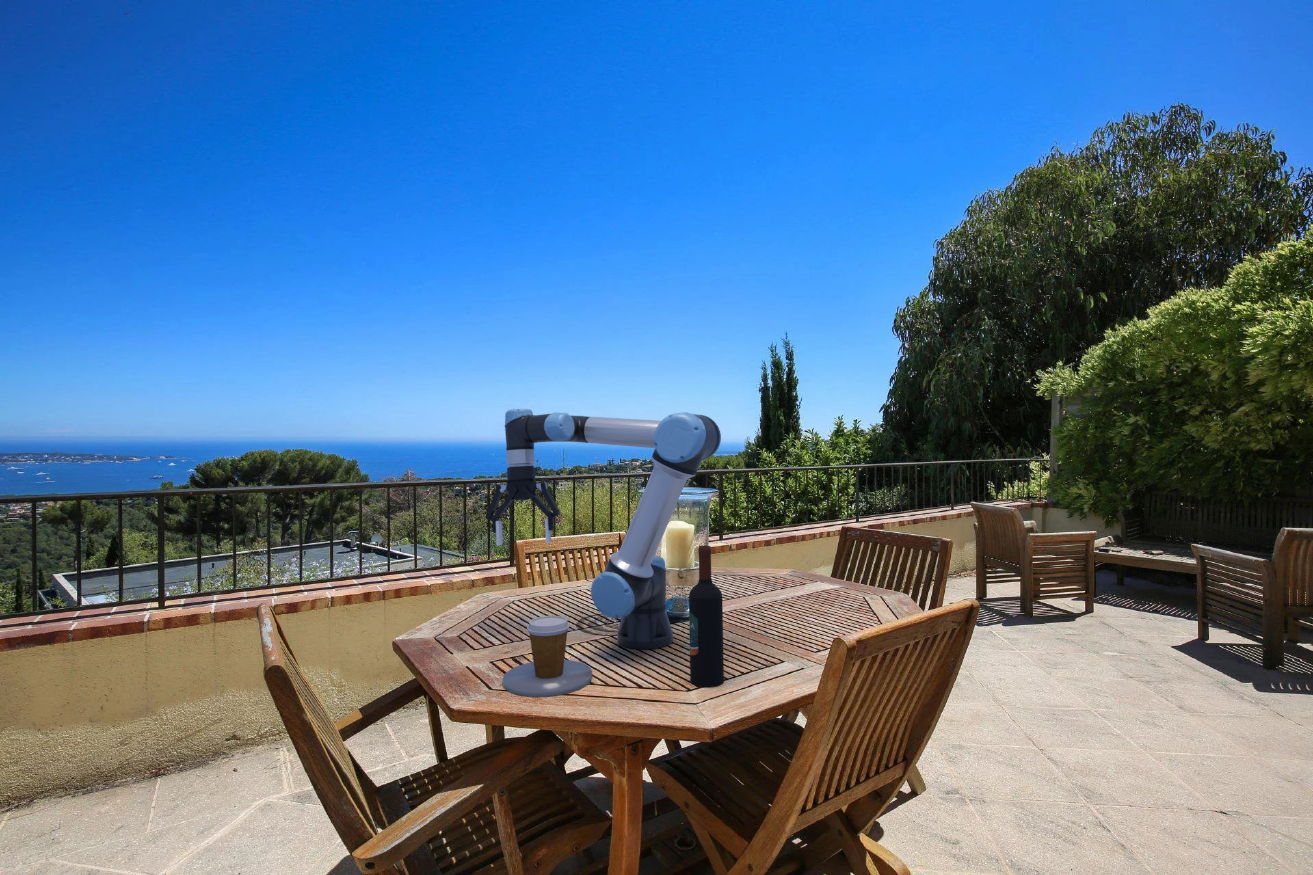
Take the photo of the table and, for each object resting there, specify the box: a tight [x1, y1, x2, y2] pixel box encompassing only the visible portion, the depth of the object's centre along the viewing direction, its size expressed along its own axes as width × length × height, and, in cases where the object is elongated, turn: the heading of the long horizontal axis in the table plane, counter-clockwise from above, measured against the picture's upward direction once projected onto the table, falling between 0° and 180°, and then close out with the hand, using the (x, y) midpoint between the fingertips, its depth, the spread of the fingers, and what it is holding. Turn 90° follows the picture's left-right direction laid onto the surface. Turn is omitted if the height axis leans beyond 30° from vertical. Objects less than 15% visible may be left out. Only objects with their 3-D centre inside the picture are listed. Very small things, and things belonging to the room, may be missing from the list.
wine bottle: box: [688, 545, 725, 688], centre depth 140 cm, size 8×8×30 cm
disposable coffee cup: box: [526, 615, 570, 679], centre depth 142 cm, size 10×10×12 cm
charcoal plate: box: [502, 659, 593, 698], centre depth 142 cm, size 20×20×1 cm
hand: (524, 544), depth 169 cm, fingers open, 13 cm apart
